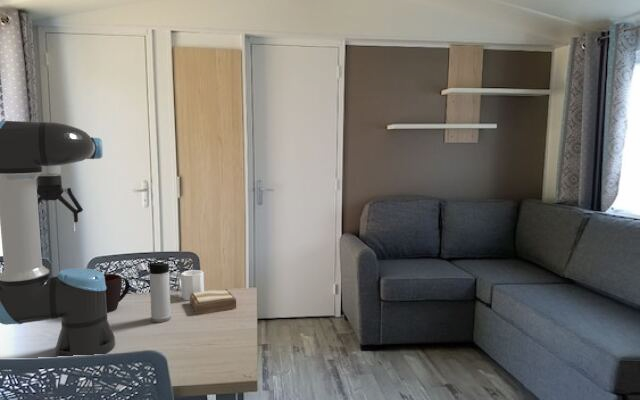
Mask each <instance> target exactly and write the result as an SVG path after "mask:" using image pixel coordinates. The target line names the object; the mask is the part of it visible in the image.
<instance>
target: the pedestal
mask: <svg viewBox="0 0 640 400" xmlns="http://www.w3.org/2000/svg"><path fill="white" fill-rule="evenodd" d="M189 302H190V304H192V305H191V306H192V308H193V310H194V311H196V312H195V313H196V315H197V316H198V314H199V315H204V314H203V313H205V314H211V313H210V312H212V313H217V312H216V311H218V312H223V311H222V310H225V311H229V310H228V309H231V310H234V309H233V308H236V309H237V299H236V297H235V296H234V295H233V294H232V293H231V292H230V291H229V290H228V289H227V288H221V289H219V288H218V289H211V290H204V291H203V292H196V293H192V294H190V300H189Z"/></svg>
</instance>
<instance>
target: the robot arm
mask: <svg viewBox="0 0 640 400" xmlns="http://www.w3.org/2000/svg"><path fill="white" fill-rule="evenodd" d="M103 154H104V153H103V141H102V139H101V138H99V137H93V136H92V137H91V136H90V134H88V133H87V132H86V131H84V130H82V129H80V128H78V127H74V126H72V125H68V124H66V123H64V124H63V123H59V122H51V121H47V122H46V121H45V122H41V121H19V120H18V121H16V120H0V235H1V237H0V239H1V246H2V259H3V271H1V273H0V324H2V325H8V326H9V325H22V324H27V323H35V322H42V321H49V320H57V319H60V321H61V322H60V323H61V328H60V332H59V335H58V338H57V342H56V345H55V356H73V355H94V354H103V355H106V354H107V353H109V352H110V351H112V350H113V349H114V348H115V346H116V337H115V335H114V332H113V329H112V328H111V324H110V323H109V321H108V313H107V306H106V285H105V277H104V275H105V274H104V273H103V272H102V271H99V270H97V269H95V268H94V269H93V268H86V267H77V268H76V267H75V268H74V267H73V268H67V269H62V270H60V271H59V272H58V273H57V276H50V270H49V268H47V267H45V266H44V265H43V257H42V242H41V230H40V216H39V205H40V203H41V202H43V201H46V202H47V201H57V200H58V201H59V202H61V203H62V204H63V205H64V206H65V207H66V208H67V209H68V210H69V211H70V212H71V214H70V215H71V219H70V220H71V232H76V223H78V221H79V216H78V215H79V213H82V212H83V211H84V209H83V207H82V206H81V204H80V202H79V201H78V199H77V198H76V196H75V194H74V193H73V189H72V187H66V188H63V186H62V185H63V184H62V175H61V174H62V168H61V166H63V165H70V164H74V163H79V162H82V161H84V160H98V159H99V160H100V159H102V158H103ZM63 193H65V194H67V195H68V197H69V199H70V200H71V201H72V202H73V204H74V205H72V204H71V203H70V202H69V201H67V200H66V199H65V197H63V196H62V194H63ZM38 196H39V197H38ZM74 206H75V207H76V208H75V207H74Z"/></svg>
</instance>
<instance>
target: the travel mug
mask: <svg viewBox="0 0 640 400" xmlns="http://www.w3.org/2000/svg"><path fill="white" fill-rule="evenodd" d="M169 265H170V263H165V262H150V263H149V266H148V267H149V287H150V288H149V290H150V294H149V296H150V311H151V312H150V314H151V317H150V318H151V321H152V322H153V323H157V324H158V323H165V322H167V321H168V322H169V320H171V318H172V311H171V287H170V286H171V284H170V282H171V281H170V266H169Z"/></svg>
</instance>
